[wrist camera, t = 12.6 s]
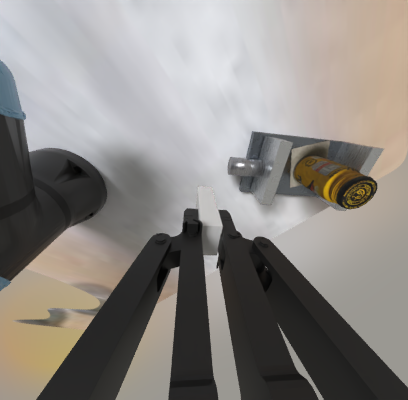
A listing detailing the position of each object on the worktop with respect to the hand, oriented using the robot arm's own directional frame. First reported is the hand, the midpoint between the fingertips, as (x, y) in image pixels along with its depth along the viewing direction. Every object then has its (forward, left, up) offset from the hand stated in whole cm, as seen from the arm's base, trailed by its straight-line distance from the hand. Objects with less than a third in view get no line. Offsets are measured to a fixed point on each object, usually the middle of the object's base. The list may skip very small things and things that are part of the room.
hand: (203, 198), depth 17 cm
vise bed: (+20, 0, -17) cm, 26 cm away
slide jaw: (+10, 0, -16) cm, 18 cm away
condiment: (+23, +1, -16) cm, 28 cm away
